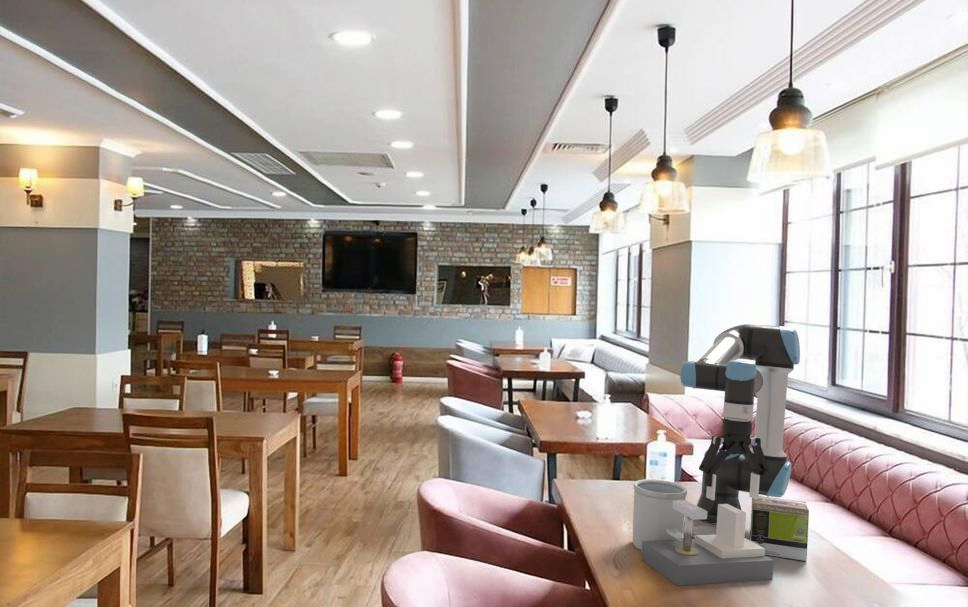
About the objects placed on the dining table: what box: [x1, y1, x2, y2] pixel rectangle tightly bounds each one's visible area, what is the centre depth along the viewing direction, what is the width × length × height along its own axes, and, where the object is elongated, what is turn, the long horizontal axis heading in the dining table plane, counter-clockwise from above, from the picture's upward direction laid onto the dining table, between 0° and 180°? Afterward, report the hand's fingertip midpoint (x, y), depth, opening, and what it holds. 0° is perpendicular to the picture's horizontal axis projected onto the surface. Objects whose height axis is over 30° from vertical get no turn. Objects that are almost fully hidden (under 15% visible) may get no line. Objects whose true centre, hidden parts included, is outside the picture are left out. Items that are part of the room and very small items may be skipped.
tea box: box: [749, 495, 810, 562], centre depth 212 cm, size 15×10×15 cm, turn 71°
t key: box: [666, 499, 707, 551], centre depth 194 cm, size 14×4×12 cm, turn 17°
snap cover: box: [694, 504, 765, 558], centre depth 197 cm, size 13×12×11 cm
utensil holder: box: [632, 478, 688, 551], centre depth 211 cm, size 15×15×18 cm
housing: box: [640, 538, 774, 587], centre depth 195 cm, size 28×18×5 cm, turn 107°
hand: (732, 498), depth 196 cm, fingers open, 13 cm apart
